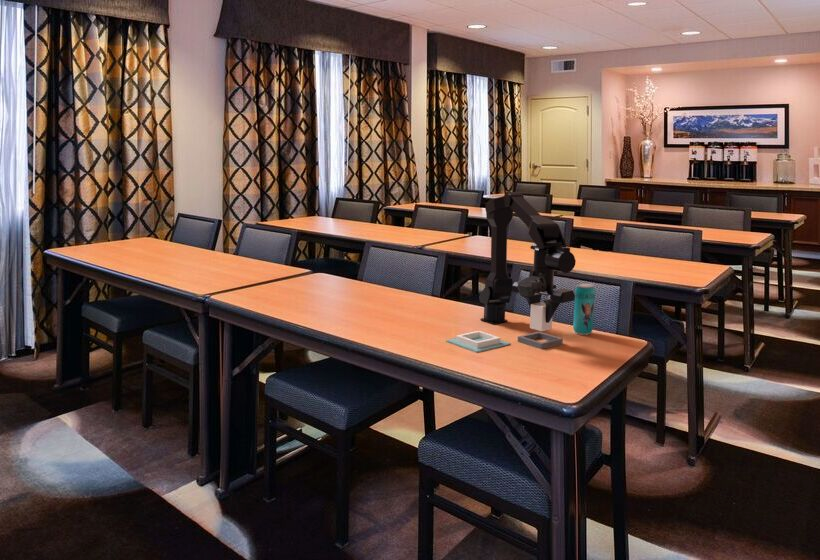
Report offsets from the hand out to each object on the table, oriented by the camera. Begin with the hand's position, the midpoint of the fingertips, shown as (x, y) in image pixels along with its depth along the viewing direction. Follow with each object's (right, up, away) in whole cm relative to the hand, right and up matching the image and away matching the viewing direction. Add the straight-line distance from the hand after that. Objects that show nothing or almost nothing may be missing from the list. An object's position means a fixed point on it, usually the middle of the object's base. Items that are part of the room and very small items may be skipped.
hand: (541, 320), depth 178 cm
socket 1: (-18, -6, 0) cm, 19 cm away
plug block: (0, -2, 0) cm, 2 cm away
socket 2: (0, -6, +1) cm, 7 cm away
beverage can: (+15, -5, +11) cm, 19 cm away
